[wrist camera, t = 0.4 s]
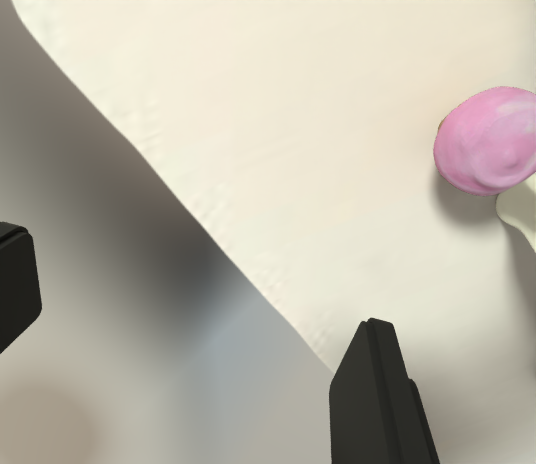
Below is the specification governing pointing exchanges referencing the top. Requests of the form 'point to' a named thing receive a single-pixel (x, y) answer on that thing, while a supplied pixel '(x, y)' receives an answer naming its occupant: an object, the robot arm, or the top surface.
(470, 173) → the cupcake
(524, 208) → the beer glass
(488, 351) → the top surface
